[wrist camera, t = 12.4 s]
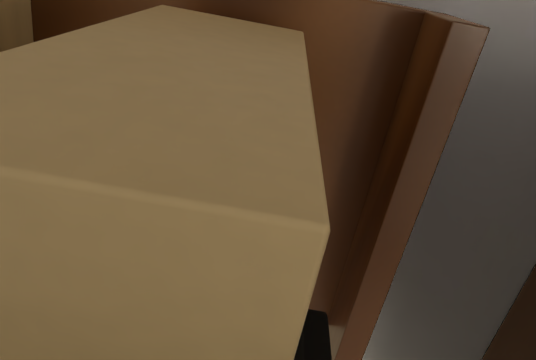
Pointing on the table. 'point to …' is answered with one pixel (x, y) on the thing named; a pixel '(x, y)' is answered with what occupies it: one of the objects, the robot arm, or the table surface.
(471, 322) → the table surface
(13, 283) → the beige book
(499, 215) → the table surface
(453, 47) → the book rack
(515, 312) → the brown cardboard carton
